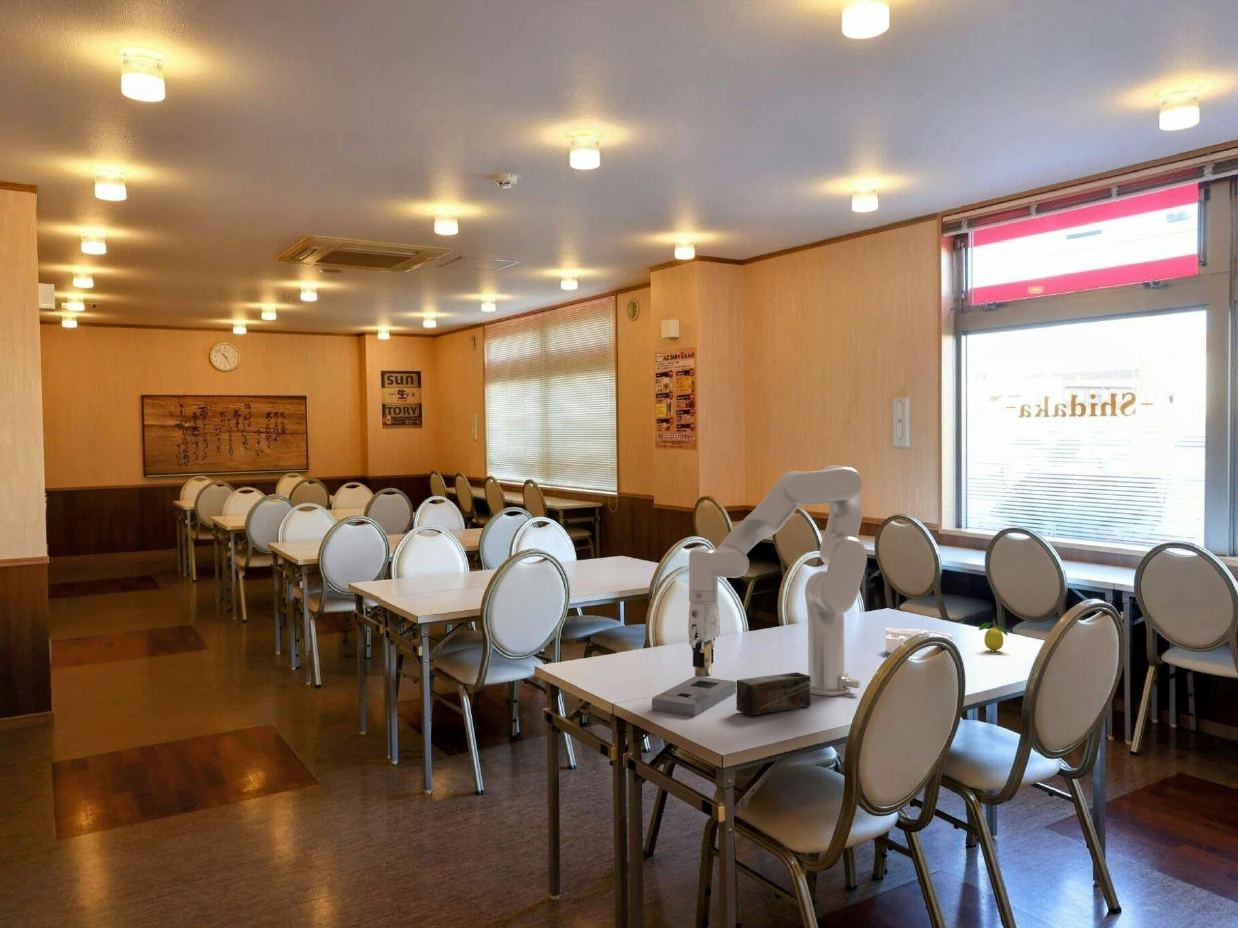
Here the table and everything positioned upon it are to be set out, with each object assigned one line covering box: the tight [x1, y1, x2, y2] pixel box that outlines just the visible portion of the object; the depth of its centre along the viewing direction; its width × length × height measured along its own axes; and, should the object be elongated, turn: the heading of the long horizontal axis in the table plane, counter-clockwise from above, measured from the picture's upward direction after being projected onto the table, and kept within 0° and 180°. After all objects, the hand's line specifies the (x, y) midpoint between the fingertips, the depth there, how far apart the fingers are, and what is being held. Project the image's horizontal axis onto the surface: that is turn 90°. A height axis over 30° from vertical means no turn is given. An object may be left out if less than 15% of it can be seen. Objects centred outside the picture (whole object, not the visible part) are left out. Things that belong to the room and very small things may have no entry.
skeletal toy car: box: [885, 627, 954, 654], centre depth 280 cm, size 20×11×7 cm, turn 44°
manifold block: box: [651, 675, 737, 718], centre depth 236 cm, size 12×24×3 cm, turn 148°
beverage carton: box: [736, 672, 812, 716], centre depth 227 cm, size 8×19×7 cm
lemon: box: [978, 621, 1009, 653], centre depth 283 cm, size 7×6×10 cm
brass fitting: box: [694, 638, 712, 678], centre depth 241 cm, size 4×4×9 cm
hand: (703, 664), depth 241 cm, fingers closed on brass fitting, 4 cm apart
